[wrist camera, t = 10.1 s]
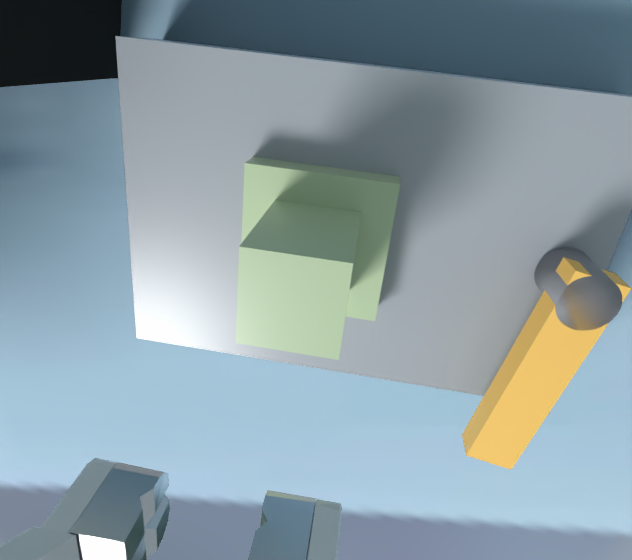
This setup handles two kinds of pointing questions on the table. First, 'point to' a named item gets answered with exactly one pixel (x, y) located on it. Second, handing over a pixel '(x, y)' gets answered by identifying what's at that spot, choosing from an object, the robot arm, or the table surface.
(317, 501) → the robot arm
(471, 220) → the grey flat block
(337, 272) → the plug
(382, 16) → the table surface
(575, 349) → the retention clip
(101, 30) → the electrical component
